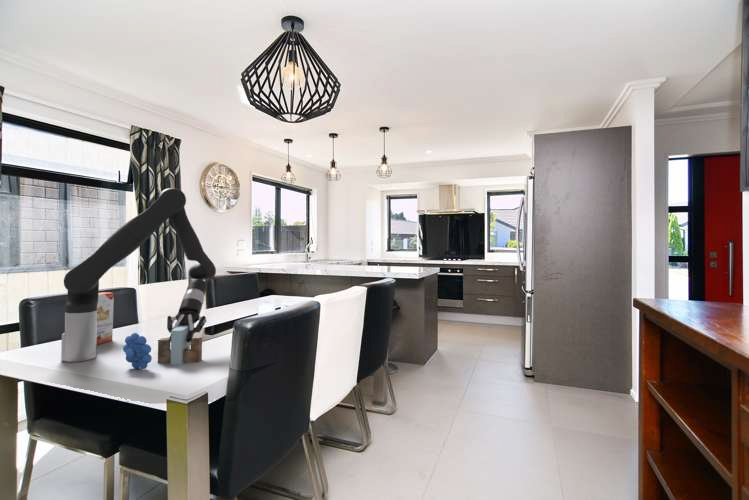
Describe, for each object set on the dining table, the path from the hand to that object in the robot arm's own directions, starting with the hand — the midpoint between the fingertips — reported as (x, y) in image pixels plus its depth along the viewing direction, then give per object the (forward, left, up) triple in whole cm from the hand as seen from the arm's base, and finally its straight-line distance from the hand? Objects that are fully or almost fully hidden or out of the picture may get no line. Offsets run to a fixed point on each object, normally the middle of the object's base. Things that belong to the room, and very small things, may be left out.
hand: (180, 341), depth 138 cm
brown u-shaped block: (0, 0, -7) cm, 7 cm away
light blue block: (0, +1, -7) cm, 7 cm away
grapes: (-11, -9, -8) cm, 16 cm away
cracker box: (-44, +27, -8) cm, 52 cm away
